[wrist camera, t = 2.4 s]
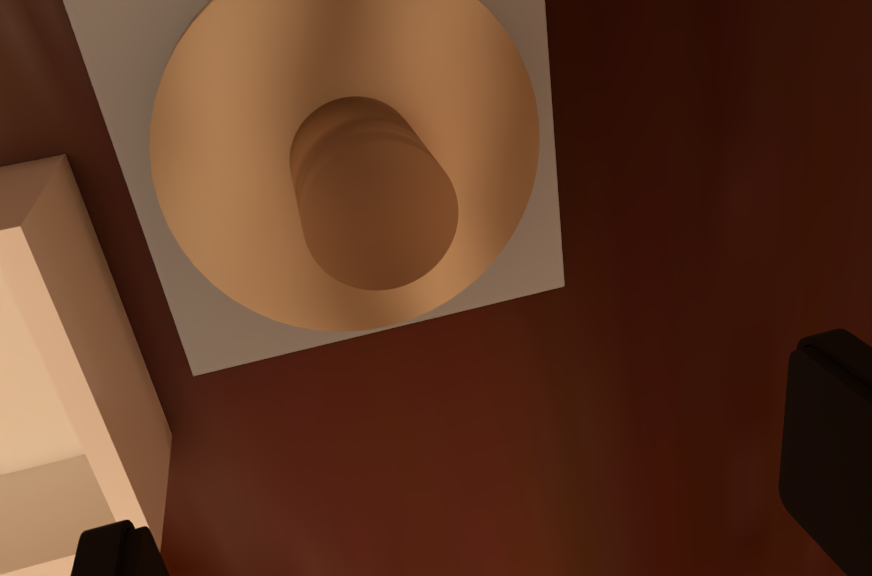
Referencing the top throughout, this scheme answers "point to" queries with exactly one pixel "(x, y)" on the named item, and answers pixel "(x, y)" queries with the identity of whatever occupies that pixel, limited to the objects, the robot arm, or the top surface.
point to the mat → (182, 282)
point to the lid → (344, 154)
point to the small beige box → (68, 382)
